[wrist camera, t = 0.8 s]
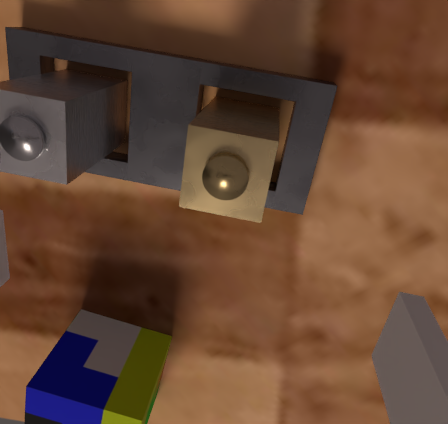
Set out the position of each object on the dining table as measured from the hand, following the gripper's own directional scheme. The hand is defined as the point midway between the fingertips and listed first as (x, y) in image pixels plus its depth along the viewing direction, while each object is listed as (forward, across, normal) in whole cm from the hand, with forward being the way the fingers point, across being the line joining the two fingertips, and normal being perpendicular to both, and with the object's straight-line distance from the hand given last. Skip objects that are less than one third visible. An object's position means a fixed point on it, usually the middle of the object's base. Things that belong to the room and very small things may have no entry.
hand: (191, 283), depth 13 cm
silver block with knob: (+20, -12, 0) cm, 24 cm away
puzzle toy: (+21, -9, -27) cm, 35 cm away
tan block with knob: (+20, 0, 0) cm, 20 cm away
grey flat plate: (+20, -6, 0) cm, 21 cm away
